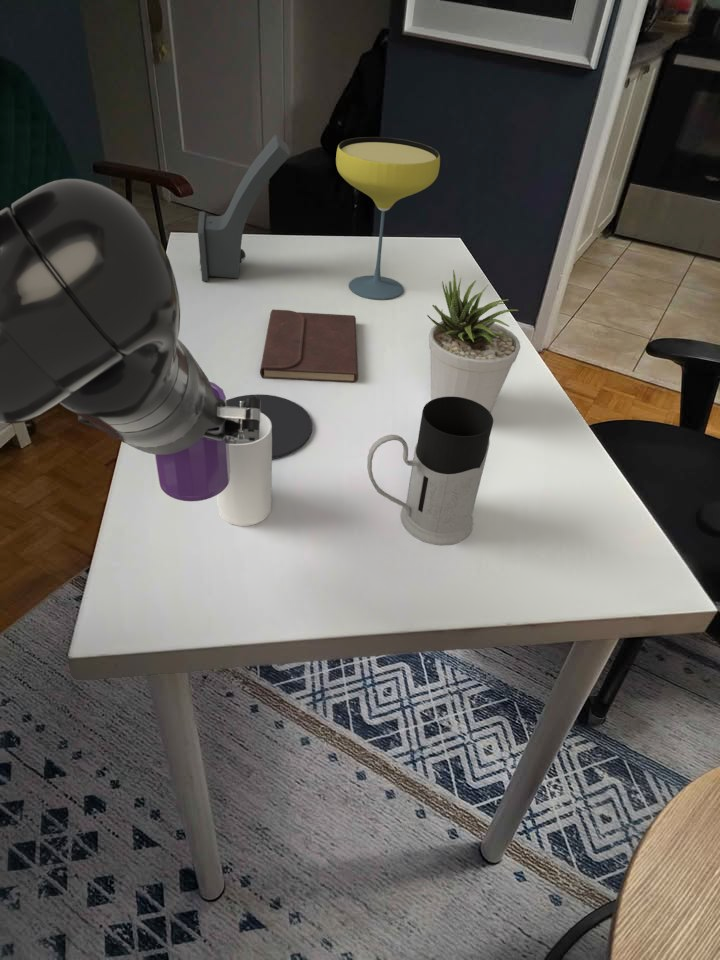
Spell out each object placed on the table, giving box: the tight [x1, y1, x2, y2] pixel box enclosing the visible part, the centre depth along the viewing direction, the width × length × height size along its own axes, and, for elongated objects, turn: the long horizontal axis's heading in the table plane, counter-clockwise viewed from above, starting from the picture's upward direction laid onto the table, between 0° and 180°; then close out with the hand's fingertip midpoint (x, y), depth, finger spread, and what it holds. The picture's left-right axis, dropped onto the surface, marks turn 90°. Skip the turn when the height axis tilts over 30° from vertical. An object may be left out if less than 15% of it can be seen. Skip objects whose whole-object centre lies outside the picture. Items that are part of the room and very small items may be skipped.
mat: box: [226, 393, 313, 460], centre depth 89 cm, size 15×15×1 cm
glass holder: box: [366, 396, 494, 546], centre depth 72 cm, size 9×14×15 cm, turn 111°
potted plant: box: [426, 269, 521, 413], centre depth 90 cm, size 13×14×20 cm
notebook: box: [259, 309, 359, 383], centre depth 106 cm, size 15×20×2 cm
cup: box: [154, 381, 230, 502], centre depth 58 cm, size 6×6×9 cm
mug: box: [215, 413, 273, 527], centre depth 74 cm, size 10×7×12 cm, turn 35°
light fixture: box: [197, 134, 291, 282], centre depth 121 cm, size 11×17×24 cm, turn 99°
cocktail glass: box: [335, 136, 441, 301], centre depth 119 cm, size 18×18×25 cm
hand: (193, 430), depth 59 cm, fingers closed on cup, 6 cm apart
